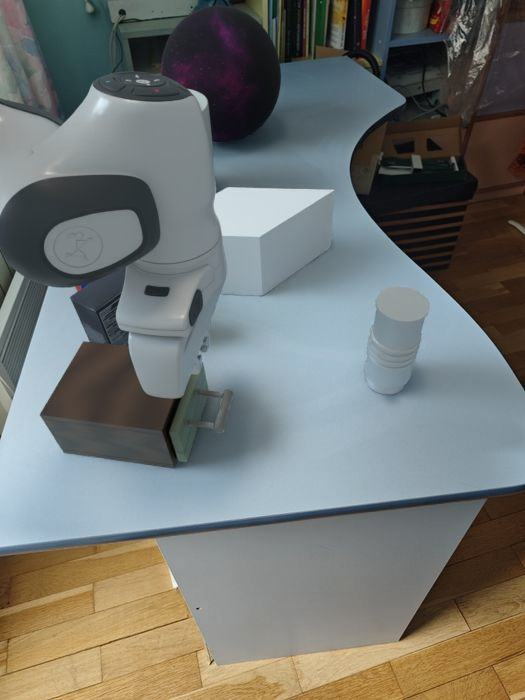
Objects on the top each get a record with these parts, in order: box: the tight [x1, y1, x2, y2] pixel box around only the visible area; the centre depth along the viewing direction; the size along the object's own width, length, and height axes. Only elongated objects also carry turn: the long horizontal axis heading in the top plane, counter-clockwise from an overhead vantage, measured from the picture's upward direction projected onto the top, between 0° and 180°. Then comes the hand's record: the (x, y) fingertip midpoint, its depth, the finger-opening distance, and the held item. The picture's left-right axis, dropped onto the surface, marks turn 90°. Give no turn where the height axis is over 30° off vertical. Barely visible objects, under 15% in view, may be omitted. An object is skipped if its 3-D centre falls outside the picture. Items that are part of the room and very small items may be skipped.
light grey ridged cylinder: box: [363, 286, 431, 396], centre depth 67 cm, size 7×7×15 cm
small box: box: [69, 266, 129, 346], centre depth 78 cm, size 11×6×10 cm, turn 144°
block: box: [214, 186, 336, 297], centre depth 88 cm, size 18×35×12 cm, turn 110°
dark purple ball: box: [160, 4, 282, 144], centre depth 122 cm, size 30×30×30 cm
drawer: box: [165, 363, 235, 463], centre depth 65 cm, size 19×12×7 cm, turn 80°
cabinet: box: [39, 340, 178, 469], centre depth 66 cm, size 16×13×9 cm
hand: (198, 358), depth 56 cm, fingers closed
